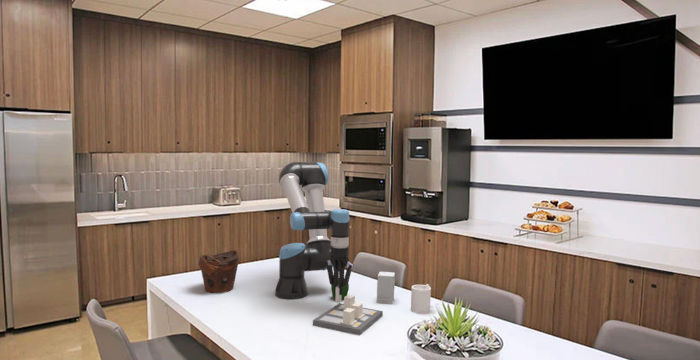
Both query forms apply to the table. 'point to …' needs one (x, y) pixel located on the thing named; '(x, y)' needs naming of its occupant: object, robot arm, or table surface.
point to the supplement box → (385, 287)
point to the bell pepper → (345, 291)
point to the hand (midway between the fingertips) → (338, 301)
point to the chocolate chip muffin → (219, 271)
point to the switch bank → (335, 316)
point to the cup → (420, 298)
